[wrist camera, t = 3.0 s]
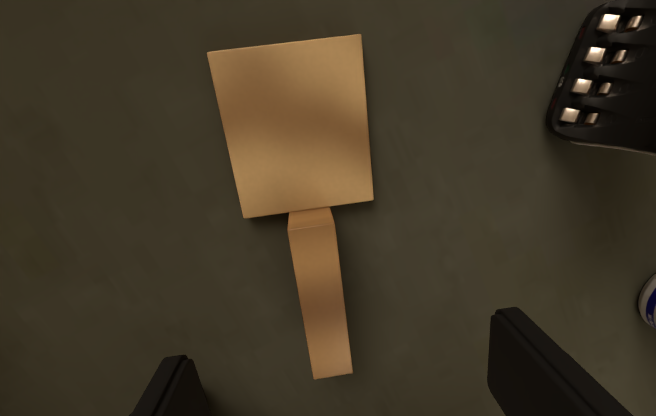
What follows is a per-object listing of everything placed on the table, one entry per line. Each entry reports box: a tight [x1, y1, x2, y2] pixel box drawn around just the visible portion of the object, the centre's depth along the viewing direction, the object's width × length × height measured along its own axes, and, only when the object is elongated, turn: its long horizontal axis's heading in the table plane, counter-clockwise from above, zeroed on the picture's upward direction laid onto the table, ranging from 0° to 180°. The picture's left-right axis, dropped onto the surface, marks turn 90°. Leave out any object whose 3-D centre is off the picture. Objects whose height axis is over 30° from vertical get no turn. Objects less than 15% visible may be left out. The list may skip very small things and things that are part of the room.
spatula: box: [207, 34, 374, 379], centre depth 16 cm, size 17×7×3 cm, turn 7°
